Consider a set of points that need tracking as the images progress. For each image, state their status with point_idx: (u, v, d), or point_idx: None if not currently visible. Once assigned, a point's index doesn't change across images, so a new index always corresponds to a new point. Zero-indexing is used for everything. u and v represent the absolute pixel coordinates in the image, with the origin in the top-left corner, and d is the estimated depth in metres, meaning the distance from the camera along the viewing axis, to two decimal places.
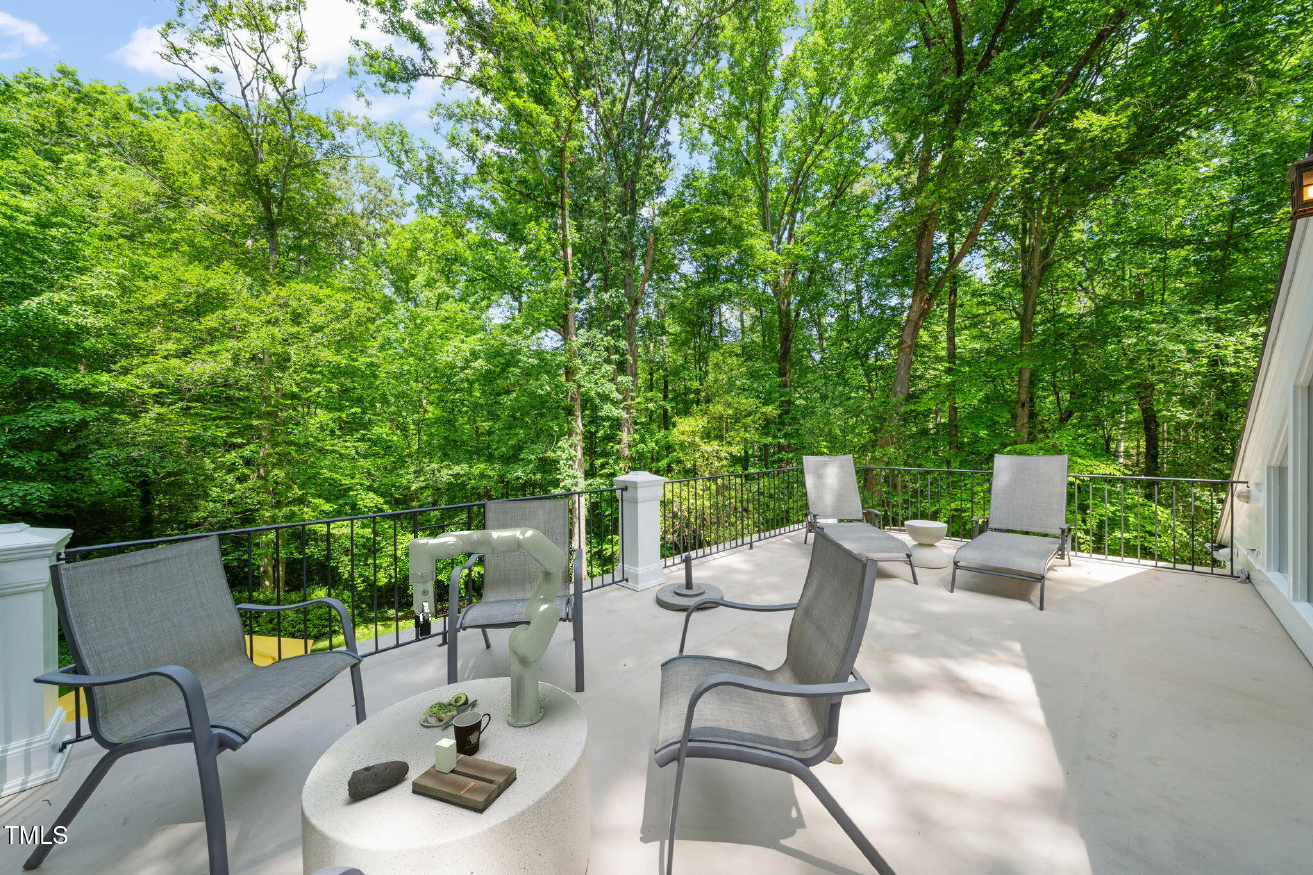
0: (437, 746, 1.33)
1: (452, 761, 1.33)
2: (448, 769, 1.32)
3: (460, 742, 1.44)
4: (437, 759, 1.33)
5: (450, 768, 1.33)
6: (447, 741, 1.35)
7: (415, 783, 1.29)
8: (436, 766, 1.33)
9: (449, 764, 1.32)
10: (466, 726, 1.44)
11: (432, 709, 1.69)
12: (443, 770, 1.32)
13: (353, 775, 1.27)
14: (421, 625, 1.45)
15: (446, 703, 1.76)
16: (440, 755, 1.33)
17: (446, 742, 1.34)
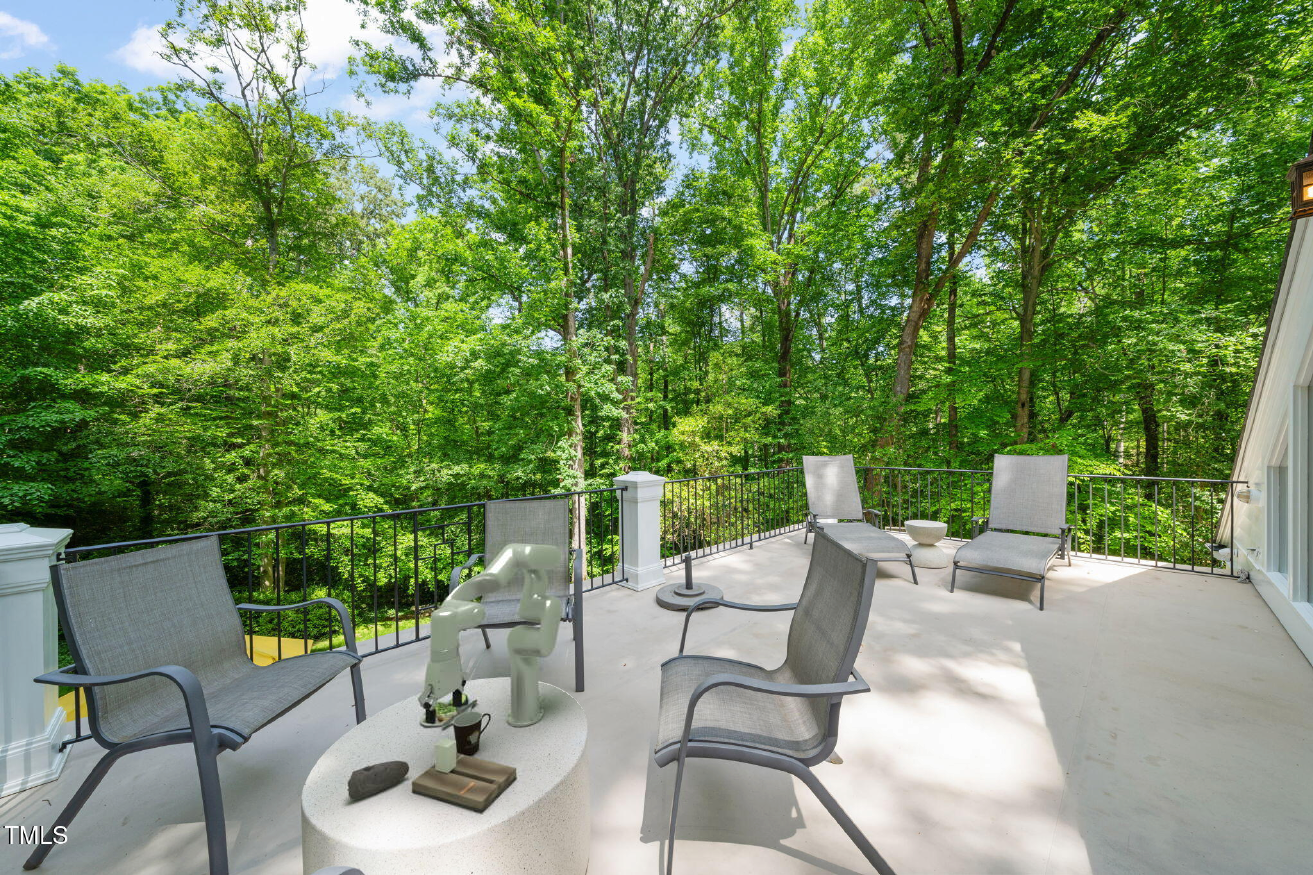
0: (437, 746, 1.33)
1: (452, 761, 1.33)
2: (448, 769, 1.32)
3: (460, 742, 1.44)
4: (437, 759, 1.33)
5: (450, 768, 1.33)
6: (447, 741, 1.35)
7: (415, 783, 1.29)
8: (436, 766, 1.33)
9: (449, 764, 1.32)
10: (466, 726, 1.44)
11: None
12: (443, 770, 1.32)
13: (353, 775, 1.27)
14: None
15: (446, 703, 1.76)
16: (440, 755, 1.33)
17: (446, 742, 1.34)
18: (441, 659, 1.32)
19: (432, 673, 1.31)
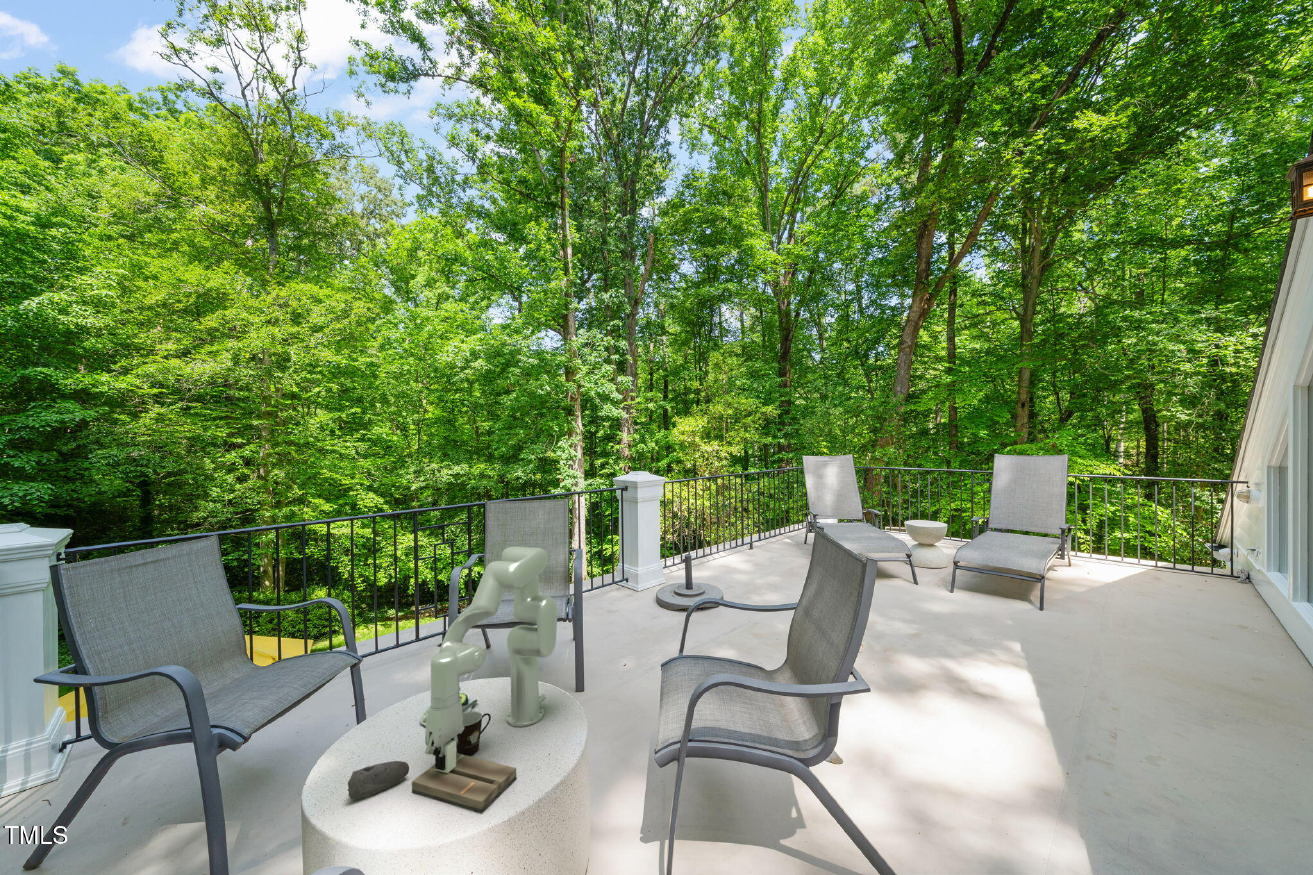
0: None
1: (452, 761, 1.33)
2: (448, 769, 1.32)
3: (460, 742, 1.44)
4: None
5: (450, 768, 1.33)
6: None
7: (415, 783, 1.29)
8: None
9: (449, 764, 1.32)
10: (466, 726, 1.44)
11: None
12: None
13: (353, 775, 1.27)
14: None
15: None
16: None
17: (446, 742, 1.34)
18: (442, 706, 1.31)
19: (433, 721, 1.30)
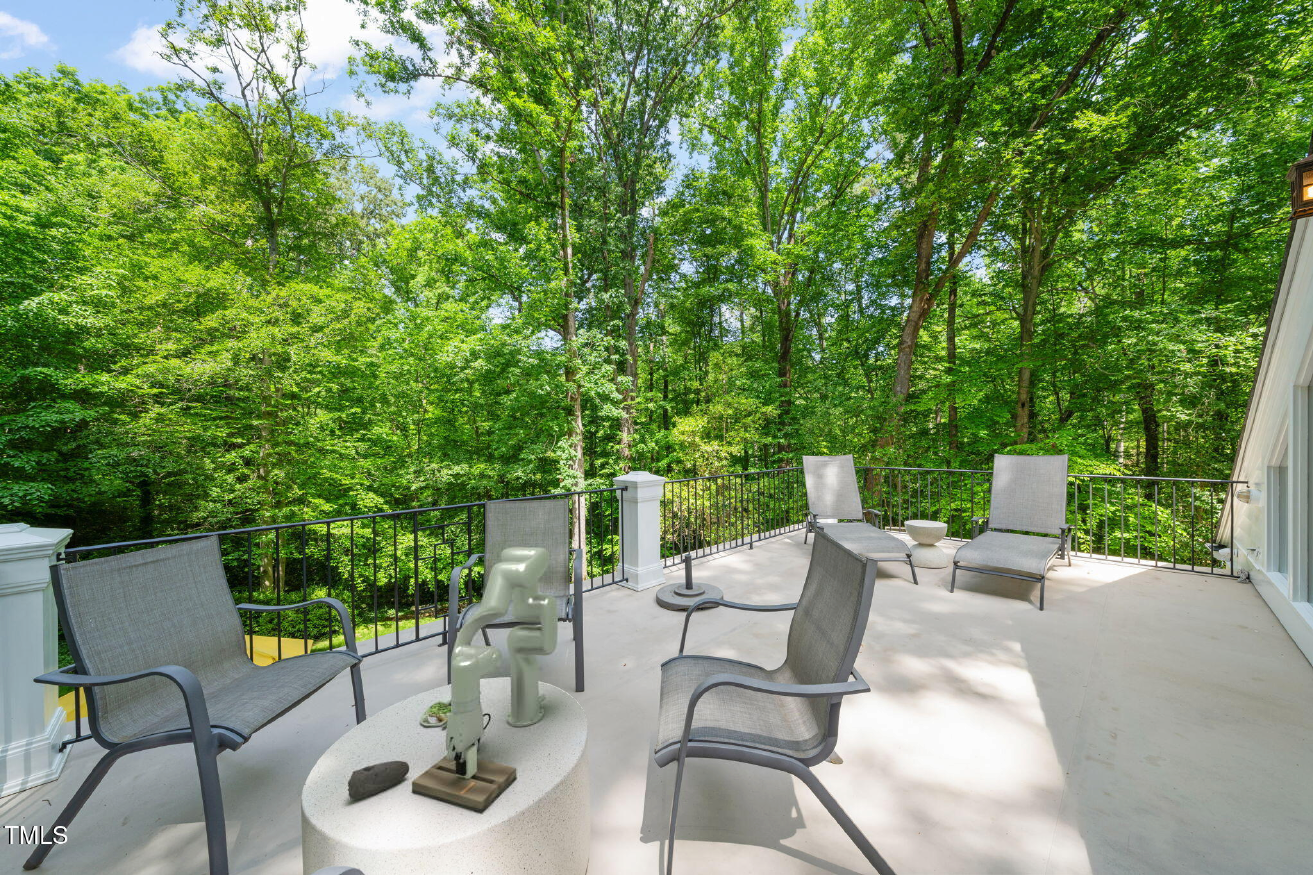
0: None
1: (473, 766, 1.31)
2: (469, 775, 1.29)
3: None
4: None
5: (471, 774, 1.30)
6: None
7: (415, 783, 1.29)
8: None
9: (469, 769, 1.29)
10: None
11: (432, 709, 1.69)
12: (464, 776, 1.29)
13: (353, 775, 1.27)
14: None
15: (446, 703, 1.76)
16: None
17: (467, 747, 1.32)
18: (462, 710, 1.28)
19: (454, 725, 1.27)
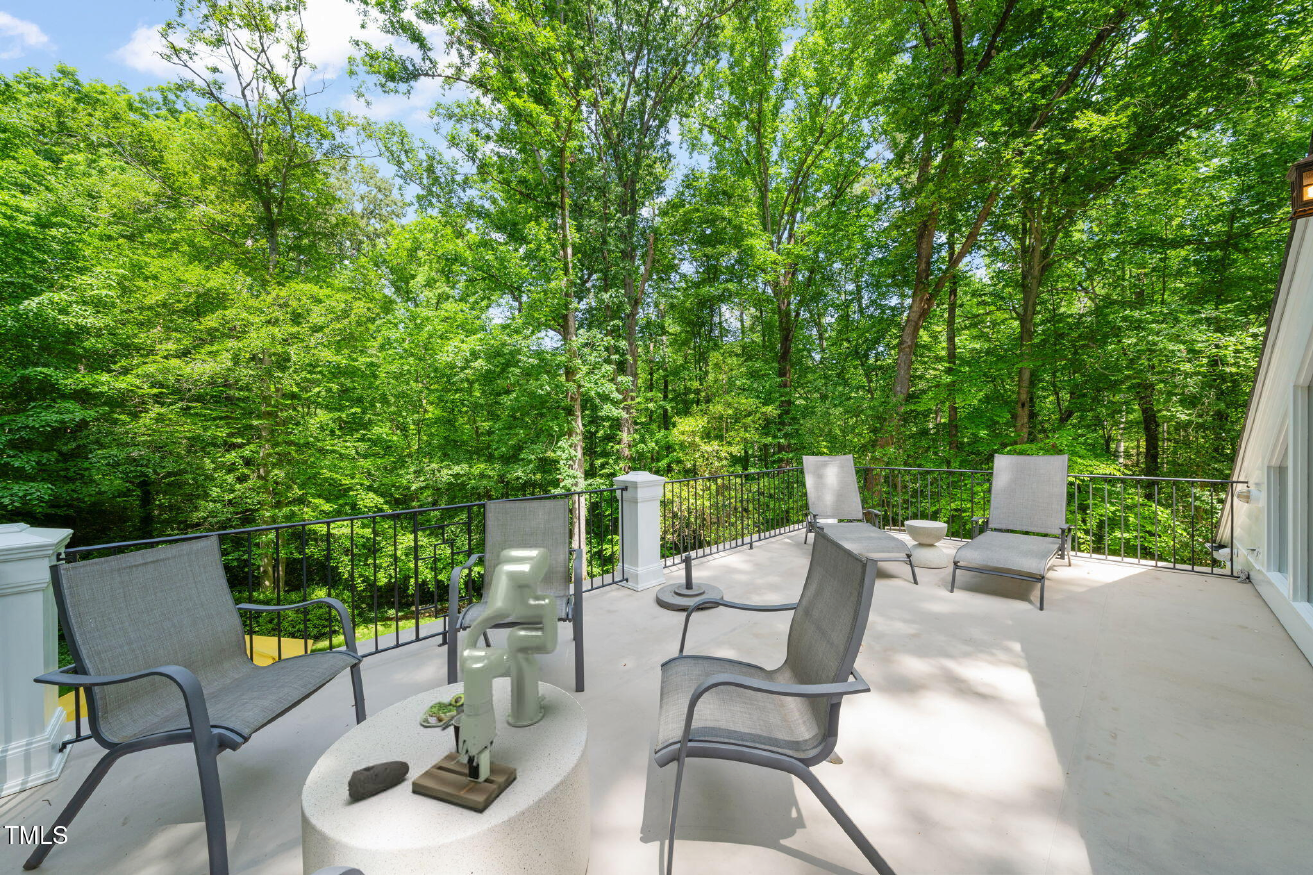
0: None
1: (486, 770, 1.29)
2: (482, 778, 1.28)
3: None
4: None
5: (484, 777, 1.28)
6: None
7: (415, 783, 1.29)
8: None
9: (482, 773, 1.28)
10: None
11: (432, 709, 1.70)
12: None
13: (353, 775, 1.27)
14: None
15: (446, 703, 1.76)
16: None
17: None
18: (475, 713, 1.27)
19: (467, 728, 1.26)
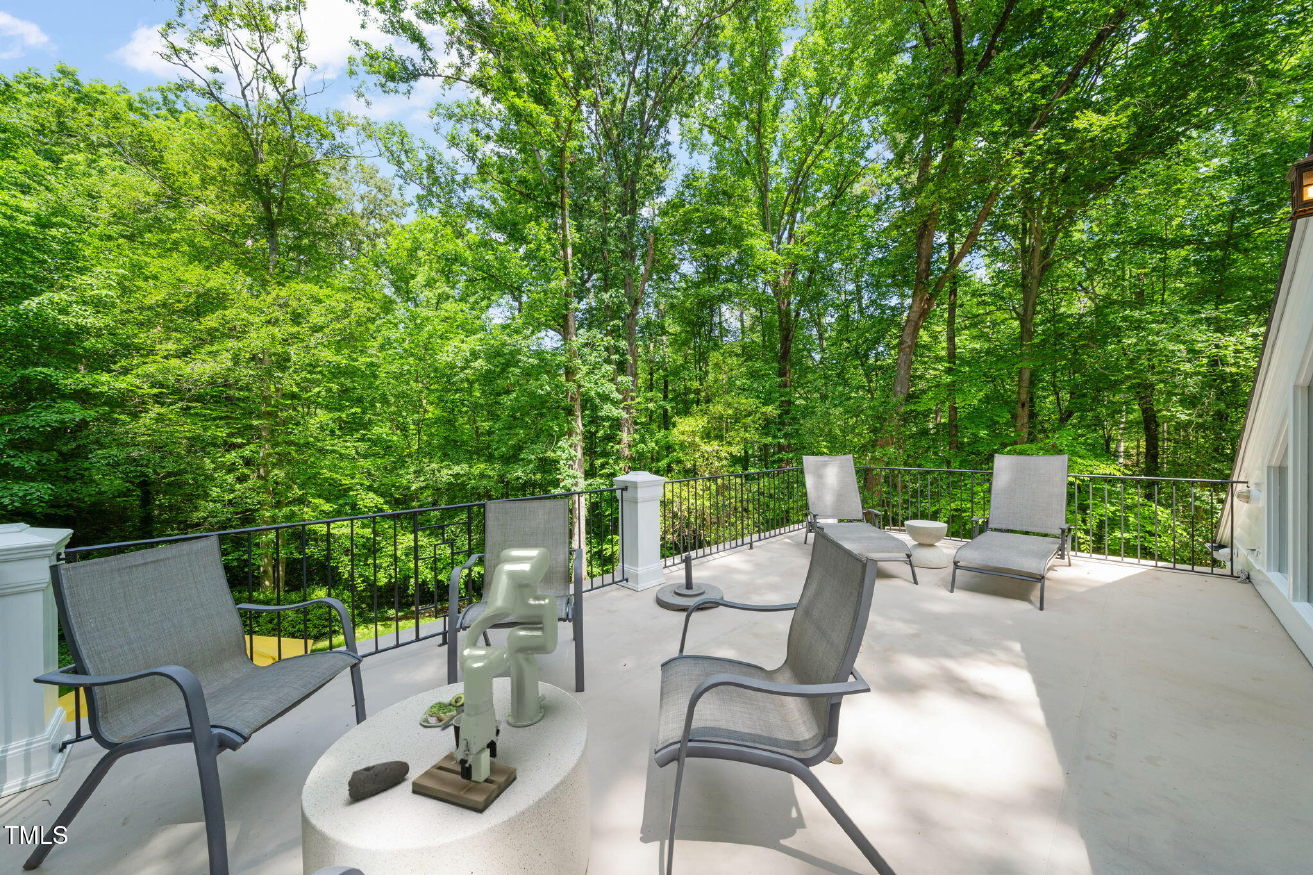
0: None
1: (486, 770, 1.29)
2: (482, 778, 1.28)
3: None
4: None
5: (484, 777, 1.28)
6: None
7: (415, 783, 1.29)
8: None
9: (482, 773, 1.28)
10: None
11: (432, 709, 1.70)
12: (477, 779, 1.28)
13: (353, 775, 1.27)
14: None
15: (447, 703, 1.76)
16: (474, 764, 1.28)
17: (479, 750, 1.30)
18: (476, 712, 1.27)
19: (467, 727, 1.26)
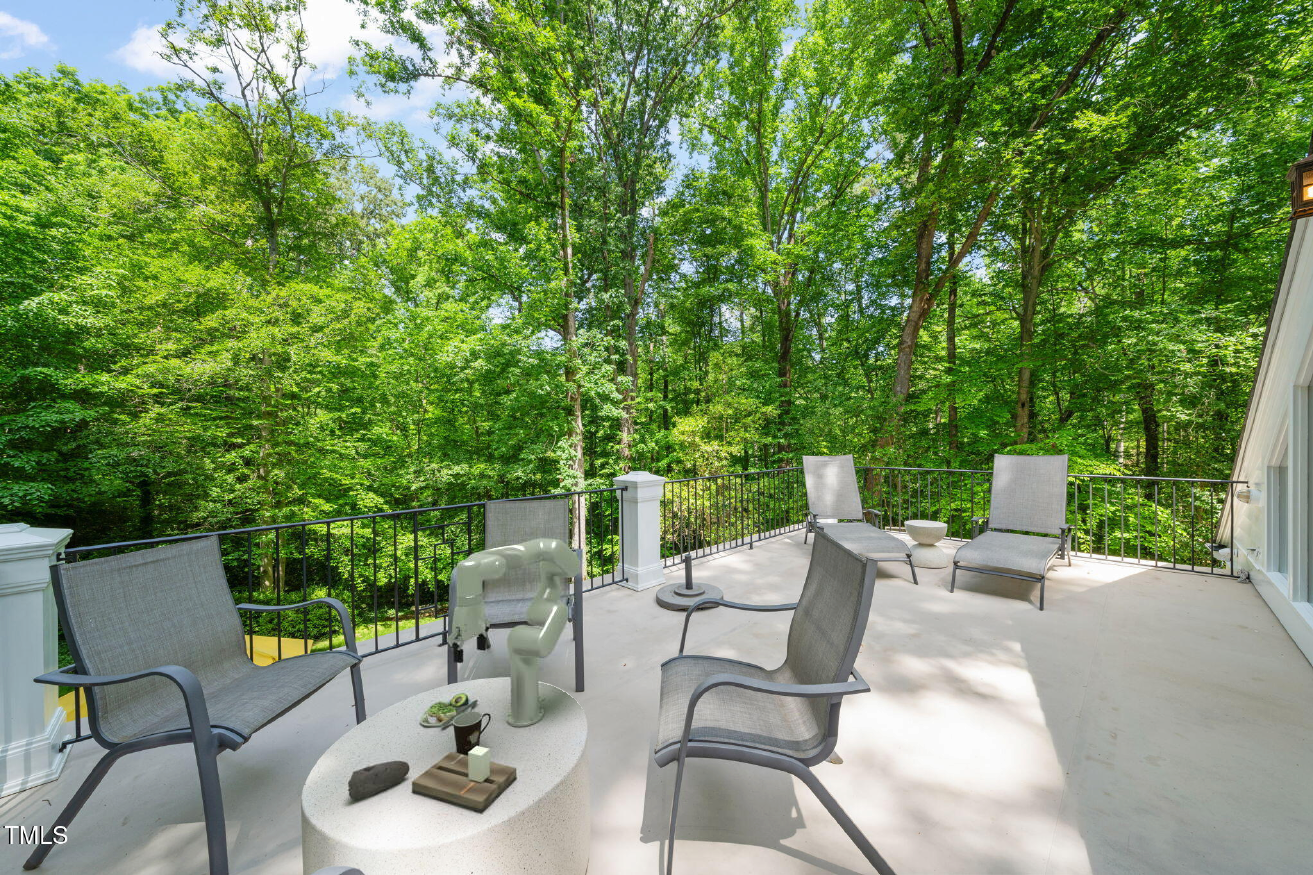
0: (470, 754, 1.29)
1: (486, 770, 1.29)
2: (482, 778, 1.28)
3: (460, 742, 1.44)
4: (470, 768, 1.29)
5: (484, 777, 1.28)
6: (480, 749, 1.30)
7: (415, 783, 1.29)
8: (469, 775, 1.29)
9: (482, 773, 1.28)
10: (466, 726, 1.44)
11: (432, 709, 1.70)
12: (477, 779, 1.28)
13: (354, 776, 1.27)
14: None
15: (447, 703, 1.76)
16: (474, 764, 1.28)
17: (479, 750, 1.30)
18: (467, 604, 1.43)
19: (459, 617, 1.42)
